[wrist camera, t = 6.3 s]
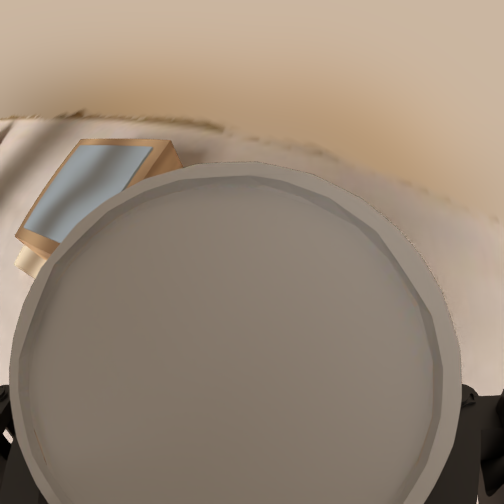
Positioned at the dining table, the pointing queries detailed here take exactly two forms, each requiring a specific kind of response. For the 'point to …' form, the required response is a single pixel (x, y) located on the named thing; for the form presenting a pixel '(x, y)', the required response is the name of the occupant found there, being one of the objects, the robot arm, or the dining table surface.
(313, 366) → the disposable coffee cup
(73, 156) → the stand
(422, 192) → the dining table surface
